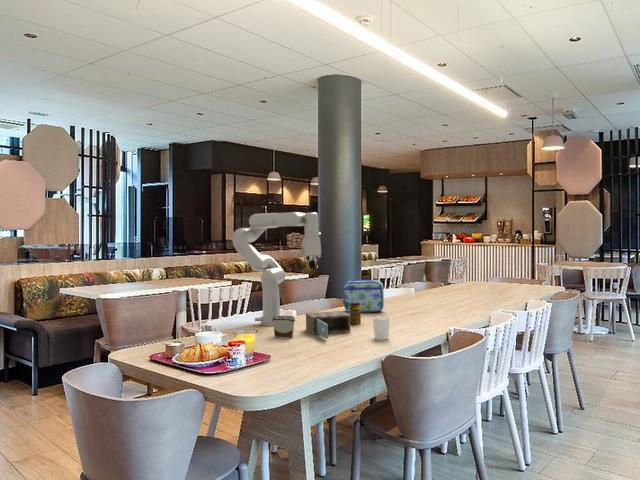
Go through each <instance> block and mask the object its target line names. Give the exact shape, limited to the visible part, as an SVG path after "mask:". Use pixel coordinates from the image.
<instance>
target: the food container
mask: <svg viewBox="0 0 640 480" xmlns="http://www.w3.org/2000/svg"><path fill="white" fill-rule="evenodd" d="M272 321H273V332H274V333H273V334H274V337H275V338H282V339H283V338H284V339H293V338H294V337H293V336H294V326H295V323H296V318H295V316H292V315H280V316H274V317H273V318H272Z"/></svg>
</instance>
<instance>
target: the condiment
mask: <svg viewBox="0 0 640 480" xmlns="http://www.w3.org/2000/svg"><path fill="white" fill-rule="evenodd" d="M349 315H350V326H352V327H353V326H359V325H363V323H362V320H361V319H362V312H361V308H360V303H359V302H352V303H351V307H350V312H349Z"/></svg>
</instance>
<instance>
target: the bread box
mask: <svg viewBox="0 0 640 480" xmlns="http://www.w3.org/2000/svg"><path fill="white" fill-rule="evenodd" d="M316 319H319V320H321V321H323V322H325V323H326V324H328V335H329V334H331V335H332V334H344V333H346V334H347V333H351V325H350V313H348V312H344V311H343V310H336V311H317V312H306V313H305V331H307V332H309V334H311V335H312V336H317V335H319V334H318V333H317V329H316Z"/></svg>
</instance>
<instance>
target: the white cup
mask: <svg viewBox="0 0 640 480" xmlns="http://www.w3.org/2000/svg"><path fill="white" fill-rule="evenodd" d="M372 319H373V321H372V323H373V333H374V336H373V337H374V339H375V340H378V341H380V340H381V341H386V340H388V339H389V334H390V317H387V316H375V317H373V318H372Z"/></svg>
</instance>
